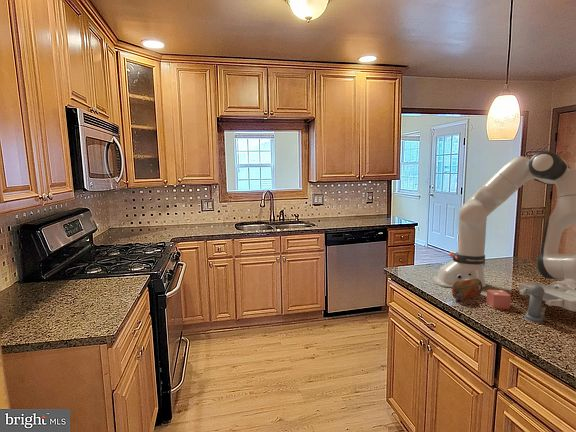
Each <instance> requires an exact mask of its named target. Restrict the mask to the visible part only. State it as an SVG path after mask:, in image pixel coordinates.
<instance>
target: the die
mask: <svg viewBox="0 0 576 432" xmlns="http://www.w3.org/2000/svg"><path fill="white" fill-rule="evenodd" d="M486 291H487V292H486V301H485V302H486V303H487V304H488V305H489V306H490V307H491V308H492V309H505V310H510V309H511V302H512V301H511V299H512V296H511V294H509V293H508V291H505V290H504V289H486Z"/></svg>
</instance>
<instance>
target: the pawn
mask: <svg viewBox="0 0 576 432" xmlns="http://www.w3.org/2000/svg"><path fill="white" fill-rule="evenodd" d="M529 293H530V295H529V301H528V302H529V303H528V307H529V310H528V309H527V310H528V313H527V312H526V313H525V314H524V315H525V316H524V318H526V319H528V320H527V321H529V320H530V322H533V321H534V322H533V323H537V322H542V321H543V322H544V318H543V316H541V308H542V307H543V306H542V305H543V300H542V298H543V295H544V293H545V291H544V289H543V288H542V287H541V286H539V285H533V286H531V287H530V289H529Z"/></svg>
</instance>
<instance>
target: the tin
mask: <svg viewBox="0 0 576 432" xmlns="http://www.w3.org/2000/svg"><path fill="white" fill-rule="evenodd" d="M451 288H452V289H451V290H452V291H451V294H452V297H453V298H454V299H455V300H458V301H460V302H465V301H466V302H467V301H470V300H474V298H473V297H476V296H480V295H481V294H482V292H483V291H482V290H483V287H482V283H481V281H480V280H479V279H476V278H467V279H463V280H458V281H456V282H455V283H454V285H453V287H451Z"/></svg>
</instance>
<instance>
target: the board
mask: <svg viewBox="0 0 576 432" xmlns="http://www.w3.org/2000/svg"><path fill="white" fill-rule="evenodd" d="M527 308H528V309H526V313H528V310H529V306H528V307H527ZM546 309H547V308H546V307H543V306H542V308H541V316H543V319H544V318H545V313H546ZM524 320H525V321H530V320H528V319H526V318H525V317H524ZM530 322H531V321H530ZM532 322H533V323H535V322H534V321H532ZM543 322H544V320H543V321H542V322H536V323H538V324H543Z"/></svg>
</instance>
